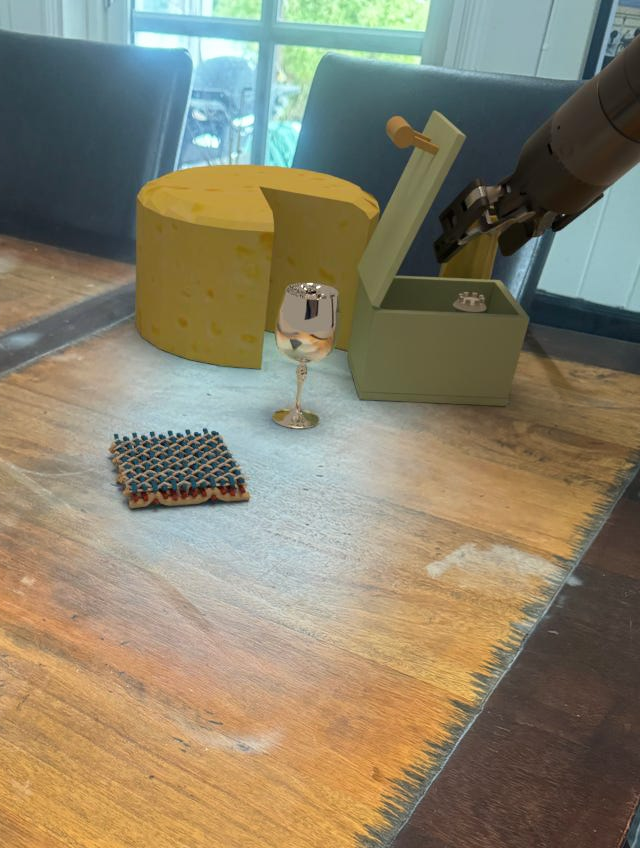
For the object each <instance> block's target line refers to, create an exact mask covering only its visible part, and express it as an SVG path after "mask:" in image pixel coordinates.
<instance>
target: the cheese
mask: <svg viewBox="0 0 640 848" xmlns="http://www.w3.org/2000/svg"><path fill="white" fill-rule="evenodd" d="M380 214H381V210H380V206H379V201H377V199H376V198H375V196H374V195H373V194H370V193H369V192H367V191H365V190H363V189H362V188H361V186H359V185H357V184H355V183H352V182H351V181H348V180H345V179H342V178H340V177H337V176H333V175H331V174H327V173H323V172H317V171H313V170H309V169H303V168H294V167H288V166H287V167H285V166H278V165H263V164H262V165H261V164H216V165H215V164H214V165H213V164H212V165H205V166H204V165H203V166H194V167H193V166H192V167H189V168H184V169H179V170H174V171H172V172H168V173H165V174H162V176H161V177H158V178H155V179H153V180H150V181H147V182H146V183H145V184H144V185H143V186H142V187H141V188H140V190H139V192H138V194H137V195H136V223H135V225H136V226H135V227H136V230H135V232H136V235H135V243H136V244H135V304H134V305H135V306H134V307H135V310H134V314H135V315H134V316H135V317H134V324H135V327H136V329H137V330H138V333H139V335H140V336H141V338H143V339H144V340H146V341H147V342H149V343H150V344H151V345H152V346H154V347H156V348H157V349H159V350H162V351H164V352H167V353H170V354H172V355H174V356H178V357H181V358H183V359H186V360H190V361H194V362H195V361H196V362H200V363H206V364H210V365H214V366H220V367H228V368H229V367H230V368H243V369H255V370H257V369H258V370H259V369H260V370H261V369H262V362H263V361H262V360H263V351H264V342H265V341H264V340H265V332H270V333H273V334H275V324H276V318H277V314H278V310H279V306H280V303H281V300H282V298H283V295H284V292H285V289H286V287H288V286H290V285H292V284H297V283H316V284H322V285H326V286H330V287H332V288H334V289H336V290H337V291H338V294H339V305H340V330H339V336H338V340H337V343H336V346H335V348H334V349H338V350H343V351H346V352H348V345H349V339H350V332H351V326H352V319H353V313H354V306H355V300H356V293H357V287H358V280H359V272H358V269H357V266H358V264H359V262H360V260H361V258H362V256H363V254H364V252H365V250H366V248H367V246H368V244H369V242H370V240H371V238H372V236H373V234H374V231H375V229H376V227H377V225H378V223H379V221H380Z"/></svg>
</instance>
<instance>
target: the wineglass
mask: <svg viewBox="0 0 640 848" xmlns="http://www.w3.org/2000/svg"><path fill="white" fill-rule="evenodd" d="M339 330H340V305H339V294H338V291H337V290H336V289H334V288H332V287H330V286H326V285H322V284H316V283H297V284H292V285H290V286H288V287H286V289H285V292H284V295H283V298H282V300H281V303H280V306H279V310H278V314H277V318H276V324H275V333H274V342H275V345H276V347H277V350H278V351H279V352H280V353H281V355H282V356H283V357H285V358H286V359H288V360H290V361H292V362H294V363H297V364H299V365H298V366H297V367H296V370H295V377H296V395H295V400H294V401H295V402H294V404H293V406H292V407H285V408H281V409H278V410H276V411H274V413H273V414H272V420H273V421H274V422H275V423H276V424H278V425H279V426H282V427H285V428H289V429H290V428H291V429H298V430H300V429H301V430H304V429H310V428H313V427H315V426H318V424H319V423H320V417H319V416H318V414H316V413H315V412H314V411H311V410H308V409H305V408H302V406H301V405H302V403H301V400H302V390H303V387H304V383H305V380H306V379H307V375H308V367H307V365H306V364H309V365H310V364H313V363H317V362H320V361H322V360H325V359H326V358H327V357H329V356H330V355H331V354H332V352H333V351H335V349H336V348H335V346H336V343H337V340H338V336H339Z"/></svg>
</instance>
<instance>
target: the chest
mask: <svg viewBox="0 0 640 848" xmlns="http://www.w3.org/2000/svg"><path fill="white" fill-rule="evenodd" d="M464 292H468V293H469V294H468V297H472V294H473V293H478V294H477V298H478V299H479V295H483V296H484V298H485V300H484V304H485V306H486V308H487V309H486V310H485V311H484V312H483V313H482V314H481V313H458V312H456V311H455V309H454V306H453V303H454V302H455V301H457V300H458V296H459V294H463V293H464ZM462 296H463V295H462ZM529 323H530V316H529V315H528V314H527V312H526V311H525V309H523V306H521V304H520V303H519V302H518V300H517V299H516V298H515V297H514V296H513V294H512V293H511V292H510V290H509V289H508V288H507V286H506V285H505V284H504V283H503V281H502V280H501V279H490V280H487V279H463V278H440V277H439V276H437V277H436V276H417V275H416V276H415V275H395V277H394V279H393V281H392V283H391V285H390V287H389V289H388V291H387V293H386V294H385V296H384V298H383V300H382V302H381V304H380V306H379V307H376V306H373V305H371V302H370V300H369V297H368V294H367V292H366V289H365V287H364V284H363V282H362V279H361V277H360V274H359V280H358V287H357V293H356V300H355V306H354V313H353V319H352V326H351V332H350V339H349V345H348V351H346V358H347V361H348V365H349V368H350V371H351V375H352V378H353V381H354V385H355V389H356V392H357V395H358V398H359V400H360V401H361V400H363V401H364V400H365V401H385V402H386V401H387V402H408V403H409V402H410V403H426V404H427V403H428V404H429V403H430V404H449V405H451V404H453V405H471V406H472V405H475V406H496V407H506V406H507V405H508V401H509V398H510V393H511V389H512V385H513V383H514V380H515V379H514V378H515V375H516V372H517V367H518V363H519V360H520V357H521V353H522V349H523V345H524V341H525V338H526V334H527V330H528V326H529Z"/></svg>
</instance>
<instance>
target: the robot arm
mask: <svg viewBox="0 0 640 848" xmlns="http://www.w3.org/2000/svg"><path fill="white" fill-rule="evenodd" d="M639 163H640V32H639V33H638V34H637V35H636V36H635V37H634V38H633V39H632V40H631V41H630V42H629V43H628V44H627V45H626V46H625V47H624V48H623V49H622V50H621V51H620V52H619V53H618V54H617V55H616V56H615V57H614V58H613V59H612V60H611V61H610V62H609V63H608V64H607V65H606V66H605V67H603V69H602V70H601V71H599V72H598V73H597V74H595V75H594V76H592V77H591V78H590V79H588V80H587V81H585V82H584V84H583V85H581V86H580V87H579V88H578V89H577V90H576V91H575V92H574V93H573V94H572V95H570V97H569V98H568V99H567V100H566V101H565V102H563V104H562V105H561V106H560V107H559V108H558V109H557V110H556V111H555V112H554V113H553V114H552V115H551V116H550V117H548V119H547V120H546V121H545V122H544V123H543V124H542V125H541V126H540V127H539V128H538V129H537V130H536V131H535V132H534V133H533V134H532V135H531V136H530V137H528V139H527V140H526V141H525V143H524V144H523V146H522V147H521V150H520V153H519V156H518V160H517V164H516V167H515V170H514V171H513V172H512V173H510V174H509V175H507V176H505V177H504V178H502V179H500V180H499V181H498V182H497V183H496V184H495V185H490V186H485V183H484V181H483V180H484V179H483V178H481V177H480V178H479V177H478V178H475V179H473V180H472V181H470V182H469V183H468V184H467V185H466V186H465V187H464V188H463V189H462V191H461V192H460V193H459V194H457V196H456V197H455V198H454V199H453V200H452V201H451V202H450V203H449V204H448V205H447V207H446V208H444V210H443V211H442V212H441V213H440V214H439V215H438V220H439V223H440V226H441V229H442V234H441V235H439V237H438V238H436V240H435V241H433V243H432V244H431V245H432V249H433V252H434V256H435V259H436V262H437V264H438V265H439V264H440V265H442V263H447V262H448V261H449V260H450V259H451V258H453V257H454V256H455V255H456V254H457V253H458V252H459V251H460V250H461V249H462V248H463V247H464V246H466V245H467V243H468V242H470V241H472V240H473V239H475V238H477V237H479V236H481V235H483V234H485V235H487V236H492V235H494V234H495V233H497V232H499V231H501V234H500V235H499V237H498V247H499V250H500V254H501V256H502V257H503V258H504V257H512V255H514V254H515V253H516V252H518V251H519V250H520V249H521V248H522V247H524V245H526V244H527V243H528V242H529V241H531V240H532V239H533V238H539V237H541V236H543V235H545V234H546V233H547V230H549V229H551V232H552V233H557V232H560V231H562V230H563V229H565V228H566V227H567V226H568V225H570V224H571V223H572V222H573V221H574V220H576V219H578V218H579V217H581V215H583V214H584V213H585V212H586V211H589V209H590V208H591V207H593V206H594V205H595V204H597V203H598V202H599V201H600V200H602V199H603V198H604V197H605V194H604V192H605V191H607V190H608V189H609V188H611V187H612V186H613V185H614V184H616V182H618V181H619V180H620V179H621V178H623V177H624V176H625V175H626V174H627V173H629V172H630V171H631V170H633V168H635V167H636V166H637V165H638V164H639ZM491 204H492V206H493V207H494V210H495V213H496V216H497V219H498V221H496V222H494V223H492V222H491V219H490V216H489V212H488V209H489V208H490V206H491ZM477 219H478V222H479V224H478V226H477V227H475V228H473V229H471V230H470V231H469V227H470V226H471V225H472V224H473V223H474V222H475V221H476V220H477ZM502 231H503V232H502Z"/></svg>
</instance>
